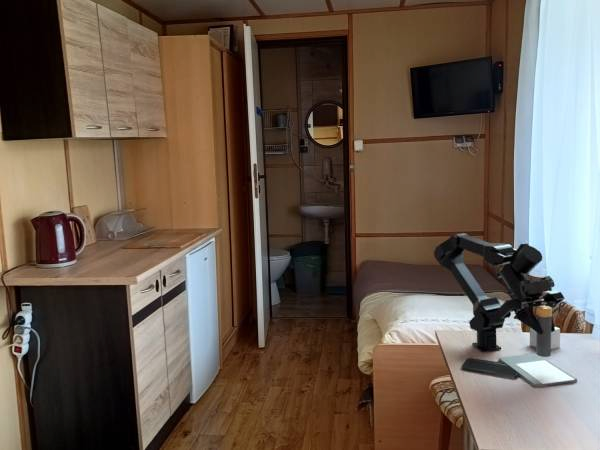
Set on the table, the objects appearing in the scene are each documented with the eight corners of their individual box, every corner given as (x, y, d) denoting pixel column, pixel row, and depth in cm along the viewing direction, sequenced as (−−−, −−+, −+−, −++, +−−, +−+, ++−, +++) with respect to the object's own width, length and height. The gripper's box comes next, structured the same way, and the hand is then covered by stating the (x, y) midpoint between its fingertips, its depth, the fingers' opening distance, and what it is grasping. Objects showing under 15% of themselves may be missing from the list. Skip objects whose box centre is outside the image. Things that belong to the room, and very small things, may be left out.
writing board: (498, 360, 154) (498, 357, 154) (536, 355, 156) (536, 352, 156) (535, 387, 136) (535, 384, 136) (578, 382, 138) (578, 379, 137)
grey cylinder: (532, 353, 143) (533, 307, 141) (541, 350, 145) (542, 304, 143) (545, 358, 140) (546, 310, 138) (554, 354, 142) (555, 308, 140)
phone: (467, 357, 156) (522, 365, 148) (467, 361, 156) (522, 369, 148) (460, 367, 149) (516, 376, 141) (460, 371, 149) (516, 380, 141)
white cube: (529, 345, 164) (529, 326, 163) (543, 341, 166) (543, 323, 166) (546, 351, 159) (546, 332, 158) (560, 347, 161) (560, 328, 160)
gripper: (505, 271, 139) (536, 324, 131) (560, 262, 146) (593, 312, 137) (485, 293, 148) (513, 343, 139) (537, 283, 154) (568, 331, 145)
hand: (547, 332), depth 140 cm, fingers closed on grey cylinder, 4 cm apart
